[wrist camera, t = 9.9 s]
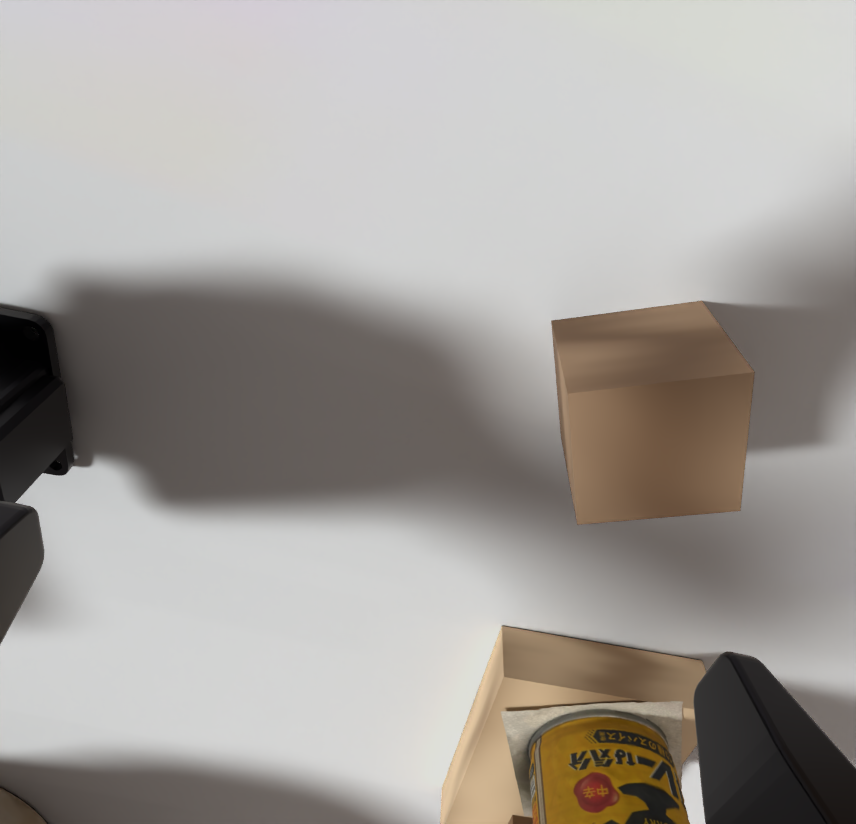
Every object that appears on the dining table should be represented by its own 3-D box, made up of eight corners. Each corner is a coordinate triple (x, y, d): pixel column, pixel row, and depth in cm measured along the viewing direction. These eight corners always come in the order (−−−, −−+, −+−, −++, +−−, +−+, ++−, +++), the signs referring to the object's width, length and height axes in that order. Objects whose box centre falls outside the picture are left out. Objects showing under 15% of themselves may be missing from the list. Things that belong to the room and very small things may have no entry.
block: (560, 436, 23) (577, 524, 19) (551, 319, 20) (568, 393, 16) (695, 422, 22) (740, 510, 18) (700, 299, 20) (754, 371, 16)
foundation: (442, 788, 36) (436, 906, 31) (501, 625, 28) (506, 750, 23) (600, 814, 36) (618, 934, 31) (702, 660, 28) (745, 789, 24)
